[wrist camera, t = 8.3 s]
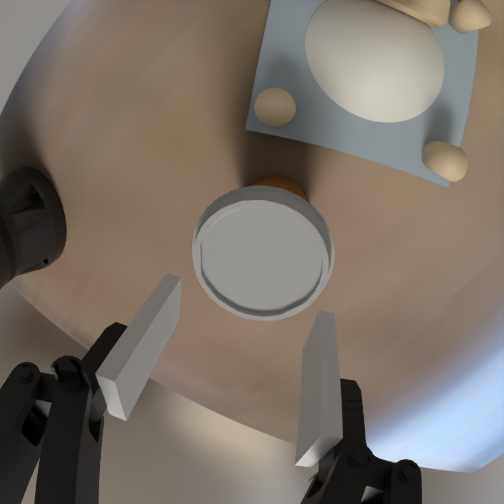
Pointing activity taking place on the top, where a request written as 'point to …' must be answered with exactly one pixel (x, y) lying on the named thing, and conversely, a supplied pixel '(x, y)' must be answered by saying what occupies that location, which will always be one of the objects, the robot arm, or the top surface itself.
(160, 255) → the top surface
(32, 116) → the top surface
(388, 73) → the board
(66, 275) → the top surface
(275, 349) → the top surface
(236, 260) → the disposable coffee cup
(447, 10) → the stool leg
